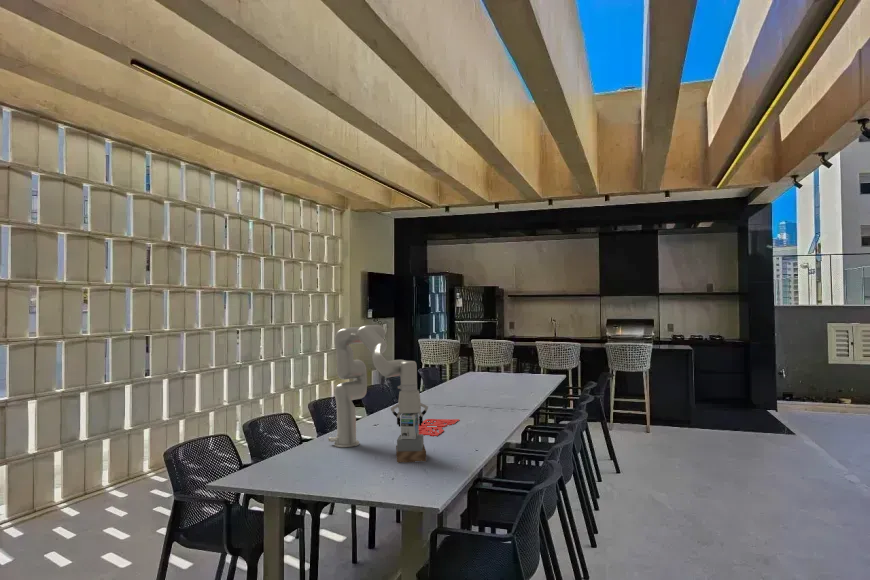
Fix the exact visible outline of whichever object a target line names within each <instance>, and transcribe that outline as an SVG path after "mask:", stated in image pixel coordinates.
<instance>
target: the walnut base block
mask: <svg viewBox="0 0 870 580" xmlns="http://www.w3.org/2000/svg"><path fill="white" fill-rule="evenodd" d="M395 452H396V456H397V457H396V463H397V462H404V463H416V462H415V461H424V462H427V450H426V447H425V445H424V446H423V449H422V451H397V445H396V446H395Z"/></svg>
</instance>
